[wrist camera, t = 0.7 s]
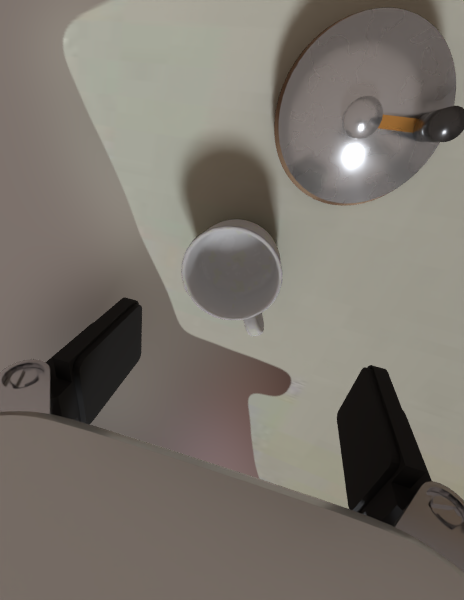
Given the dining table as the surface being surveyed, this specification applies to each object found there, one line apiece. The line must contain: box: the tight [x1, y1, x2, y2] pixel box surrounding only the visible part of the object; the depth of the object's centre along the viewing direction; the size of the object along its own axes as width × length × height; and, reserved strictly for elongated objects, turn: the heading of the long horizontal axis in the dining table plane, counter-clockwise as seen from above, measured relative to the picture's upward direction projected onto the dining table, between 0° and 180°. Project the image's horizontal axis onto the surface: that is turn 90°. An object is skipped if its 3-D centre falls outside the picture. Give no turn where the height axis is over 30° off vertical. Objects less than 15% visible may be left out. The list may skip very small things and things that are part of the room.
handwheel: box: [279, 8, 464, 203], centre depth 23 cm, size 14×14×6 cm
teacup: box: [181, 219, 282, 336], centre depth 34 cm, size 14×11×8 cm
